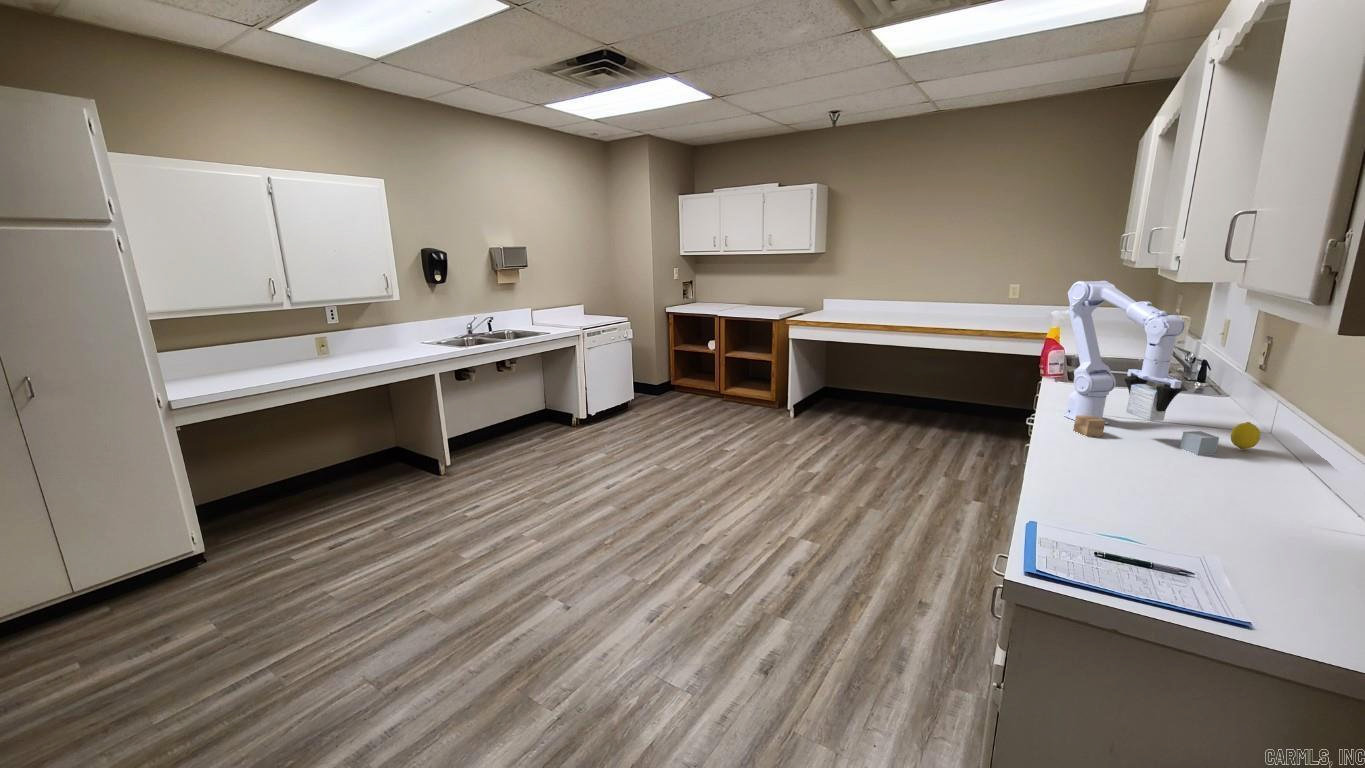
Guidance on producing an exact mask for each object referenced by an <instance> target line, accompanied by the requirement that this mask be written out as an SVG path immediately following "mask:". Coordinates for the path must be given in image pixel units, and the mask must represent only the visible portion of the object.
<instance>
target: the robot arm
mask: <svg viewBox="0 0 1365 768" xmlns="http://www.w3.org/2000/svg"><path fill="white" fill-rule="evenodd" d="M1067 297H1068V301H1069V308H1068V309H1069V310H1068V313H1069V318H1070V323H1071V328H1072V332H1073V336H1074V343H1075V346H1076V351H1077V355H1078V360H1079V366H1078V367H1077V368H1076V369H1075V370H1074V371H1073V375H1074V378H1073V387H1074V389H1075V390H1073V391H1072V392H1071V393H1070V395H1069V396H1068V401H1067V407H1066V411H1065V413H1064V414H1062V416H1063V417H1065V418H1068V419H1070V420H1073V421H1075V418H1076V416H1077V415H1093V416H1096V417H1098V418H1101V419H1103V417H1104V411H1105V405H1106V401H1107V396H1109V393H1110V392H1112V391H1113V390H1114V389H1115V387H1116V385H1117V381H1116V378H1115V376H1114V374H1113V373H1112V372H1111V368H1110V367H1109V366H1108V365H1106V364H1105V363H1104V362H1103V360H1102V356H1101V352H1100V347H1099V343H1098V337H1097V334H1096V333H1097V332H1096V330H1095V324H1094V320H1093V319H1094V318H1093V316H1092V313H1093V312H1094V311H1095V310H1097V308H1099V307H1100V306H1101V305H1102V304H1103V303H1105V302H1106V303H1107V302H1108V303H1109V304H1111V305H1112V306H1115V307H1117V308H1119V309H1121V311H1124V312H1126V317H1127V318H1128V319H1129V320H1131V321H1132V322H1134V323H1135V324H1136V325H1138V326H1140V327H1142V328H1143V329H1144V332H1145V334H1146V341H1147V342H1146V343H1147V344H1146V348H1145V352H1144V357H1143V362H1142V366H1141V369H1135V368H1131V369H1130V368H1128V370H1127V376H1128V377H1124V382H1125V384H1126V386H1127V389H1128V394H1129V396H1130V391H1131V386H1132V385H1134V384H1148V382H1152V383H1155V384H1159V385H1156V386H1155V387H1156V389H1157V395H1158V399H1157V406H1156V411H1166V412H1167V409H1168V407H1169V405H1170V404H1171V402H1172V401H1173V400H1174V398H1176V397H1177V395H1178V394H1180V393H1181V392H1182V389H1183V388H1182V382H1183V381H1182V380H1178V379H1177V378H1174V377H1171V376H1169V373H1170V372H1169V371H1170V368H1171V363H1172V360H1173V359H1172V358H1173V355H1174V350H1175V349H1174V348H1175V345H1176V341H1177V337H1178V336H1181V335H1182V333H1183V332H1184V330H1185V325H1186V324H1185V321H1184V320H1183V319H1182V318H1181V317H1180V316H1179V315H1175V314H1174V315H1172V314H1171V315H1168V313H1167V312H1166V311H1165V310H1160V309H1158V308H1156V307H1155V306H1153V303H1152V302H1150V301H1148V300H1147V301H1144V300H1143V301H1135V300H1134V299H1133V298H1131V297H1129V296H1128V295H1126V294H1125V293H1123V291H1121V290H1119V288H1116V286H1115V284H1113V283H1110V282H1109V281H1107V280H1100V281H1099V280H1098V281H1095V280H1094V281H1082V280H1078V281H1076V282H1075V283H1073V284H1072V285H1071V287H1070V288H1069V289H1068V291H1067ZM1109 424H1110V422H1108V421H1106V420H1105V425H1109Z"/></svg>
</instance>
